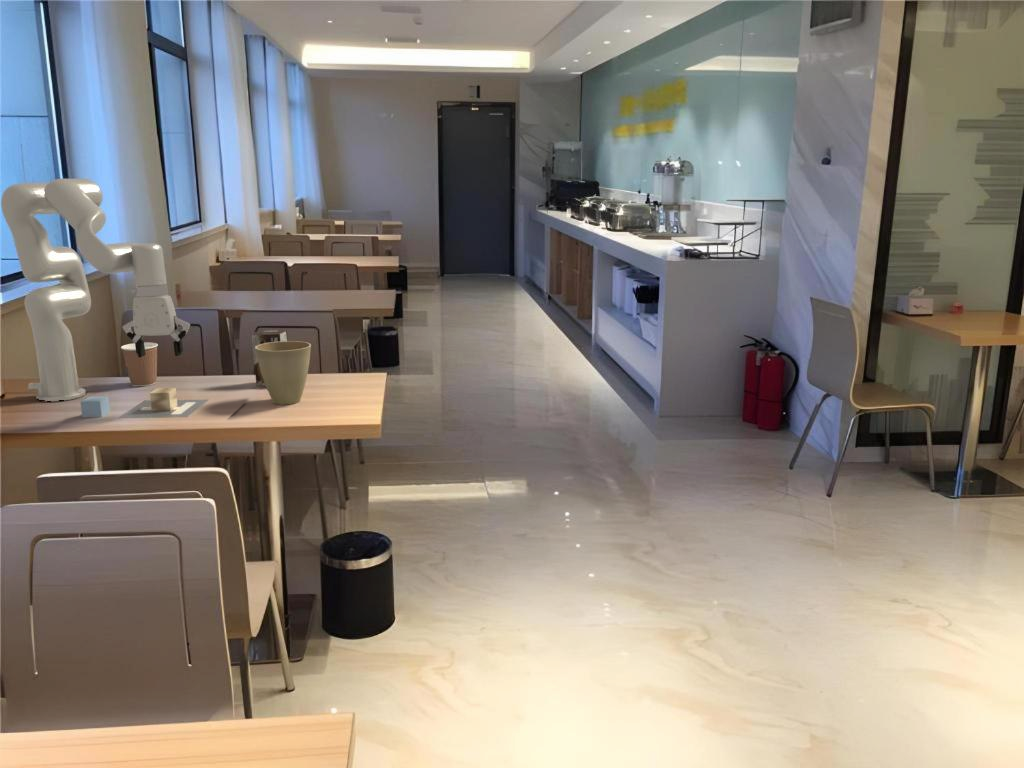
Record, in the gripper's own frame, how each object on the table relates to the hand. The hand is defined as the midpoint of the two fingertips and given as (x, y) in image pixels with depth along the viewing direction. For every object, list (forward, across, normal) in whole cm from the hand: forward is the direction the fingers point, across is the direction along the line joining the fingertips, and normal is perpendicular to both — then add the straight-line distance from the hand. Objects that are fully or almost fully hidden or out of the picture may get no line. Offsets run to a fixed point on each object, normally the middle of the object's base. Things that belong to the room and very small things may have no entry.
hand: (160, 355), depth 221 cm
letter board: (+15, -1, 0) cm, 15 cm away
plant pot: (+16, +30, +8) cm, 35 cm away
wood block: (+14, -1, 0) cm, 15 cm away
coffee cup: (+15, -19, +31) cm, 39 cm away
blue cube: (+15, -17, -5) cm, 23 cm away
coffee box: (+16, +21, +29) cm, 39 cm away
